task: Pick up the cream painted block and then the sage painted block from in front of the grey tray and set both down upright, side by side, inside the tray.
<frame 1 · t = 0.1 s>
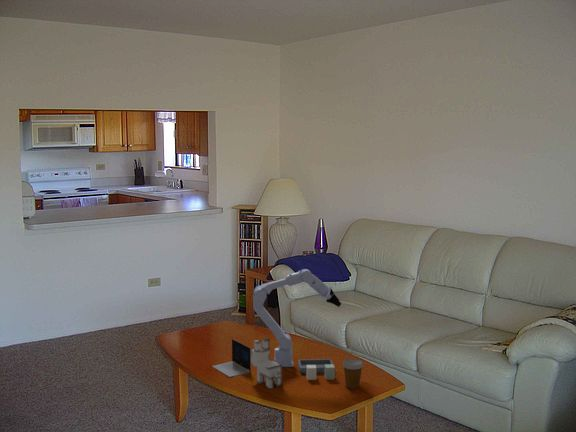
hand: (339, 303, 338), 32 cm above the table, tool tilted 50°, fingers open, 7 cm apart
disposable coffee cup: (352, 386, 312), on the table
laptop: (231, 370, 334), on the table
sage block: (329, 377, 323), on the table
toy llama: (267, 383, 316), on the table
cream block: (311, 378, 322), on the table
grey tray: (315, 369, 334), on the table
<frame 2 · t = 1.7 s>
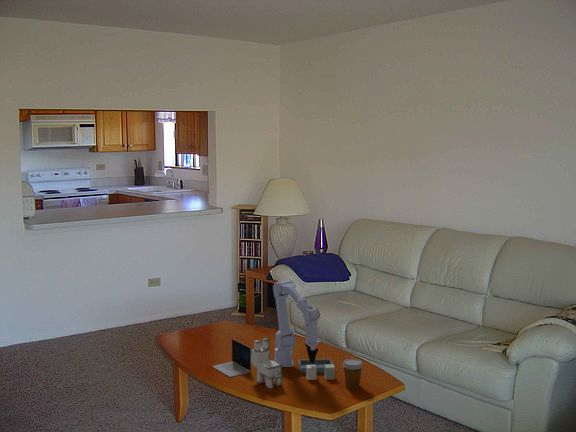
hand: (311, 359, 321), 9 cm above the table, tool pointing down, fingers open, 7 cm apart
nothing on the table moved.
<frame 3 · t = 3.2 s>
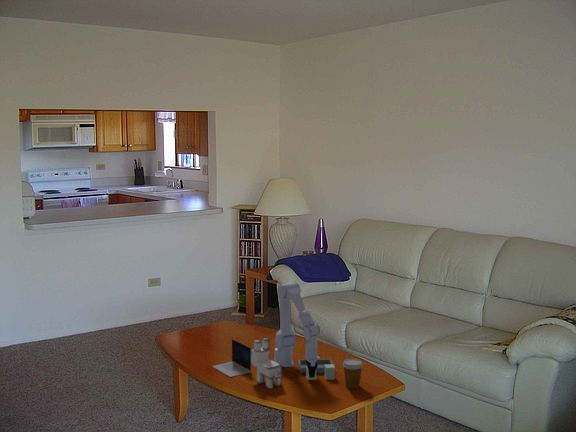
hand: (311, 375, 322), 1 cm above the table, tool pointing down, fingers closed on cream block, 4 cm apart
cream block: (311, 378, 322), on the table, touching gripper
everything else where it was.
when the fingers open (4 cm above the table, at t = 6.2 s): cream block drops 1 cm, resting on grey tray.
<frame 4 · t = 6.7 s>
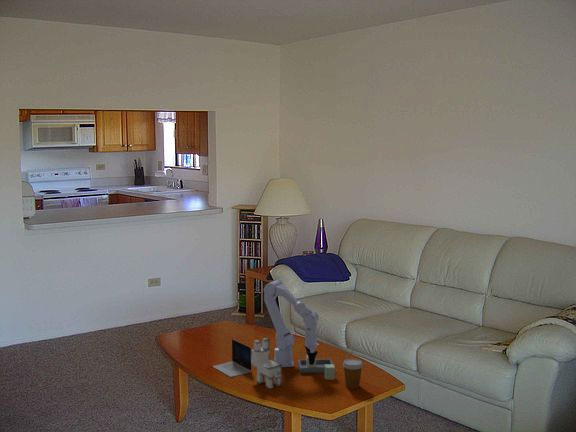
hand: (310, 361, 334), 4 cm above the table, tool pointing down, fingers open, 7 cm apart
cream block: (311, 367, 334), point 1 cm above the table, touching grey tray
everything else where it was.
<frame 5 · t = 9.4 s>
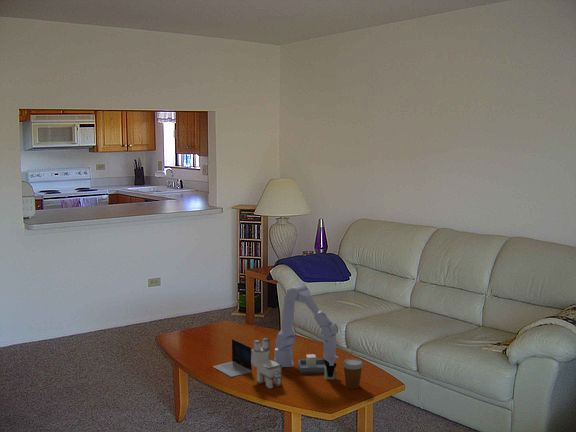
hand: (329, 374, 323), 1 cm above the table, tool pointing down, fingers closed on sage block, 4 cm apart
sage block: (329, 377, 323), on the table, touching gripper
everything else where it was.
when the fingers open (4 cm above the table, at t = 12.6 s): sage block drops 1 cm, resting on grey tray.
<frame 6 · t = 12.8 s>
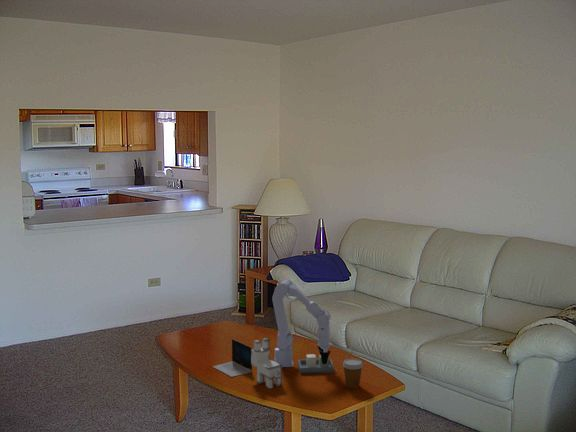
hand: (323, 361, 334), 4 cm above the table, tool pointing down, fingers open, 6 cm apart
sage block: (323, 366, 334), point 1 cm above the table, touching grey tray
everything else where it was.
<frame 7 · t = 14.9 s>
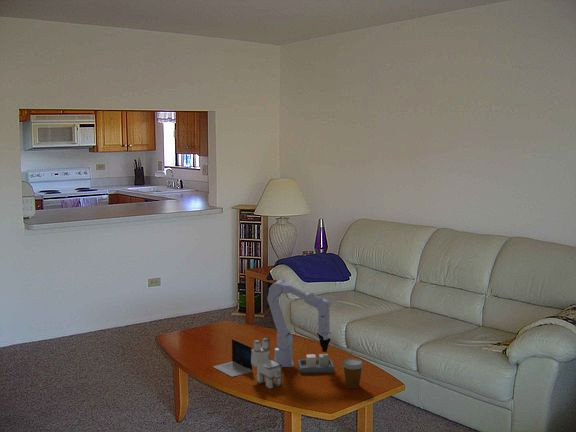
hand: (323, 349, 333), 10 cm above the table, tool pointing down, fingers open, 7 cm apart
nothing on the table moved.
at the end: cream block inside the target area (2.4 cm from its centre), point 1.0 cm above the table; sage block inside the target area (4.1 cm from its centre), point 1.0 cm above the table; sage block tilted 0° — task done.
